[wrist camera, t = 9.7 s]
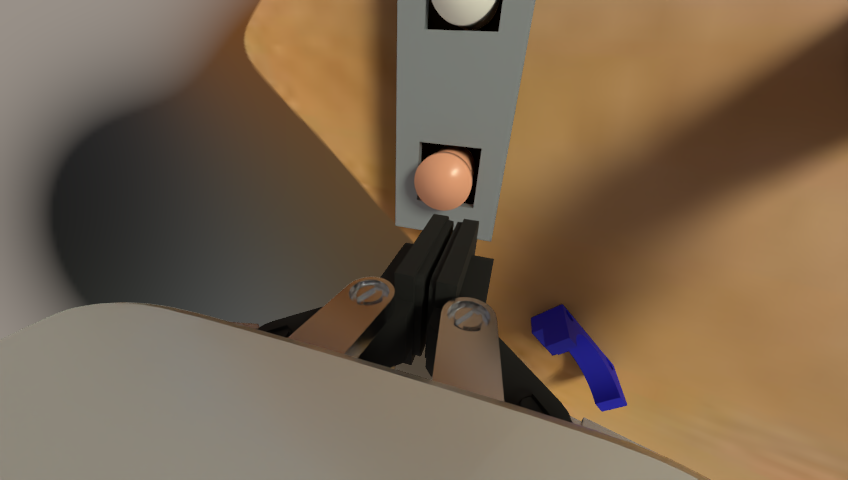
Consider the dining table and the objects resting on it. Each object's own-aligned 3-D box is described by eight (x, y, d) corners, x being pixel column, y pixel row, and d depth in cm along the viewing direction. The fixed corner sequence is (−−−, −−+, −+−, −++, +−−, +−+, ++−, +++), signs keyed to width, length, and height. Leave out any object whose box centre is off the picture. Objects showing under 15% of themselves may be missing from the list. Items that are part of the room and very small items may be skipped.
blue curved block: (530, 316, 41) (533, 351, 36) (562, 302, 39) (569, 337, 33) (580, 374, 43) (590, 414, 38) (613, 364, 41) (627, 405, 36)
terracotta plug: (481, 143, 30) (474, 157, 25) (474, 192, 32) (467, 214, 27) (431, 138, 31) (415, 150, 26) (428, 186, 33) (413, 206, 28)
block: (551, -99, 23) (562, -151, 18) (494, 217, 35) (491, 241, 30) (422, -93, 25) (398, -138, 20) (411, 205, 37) (395, 225, 32)
